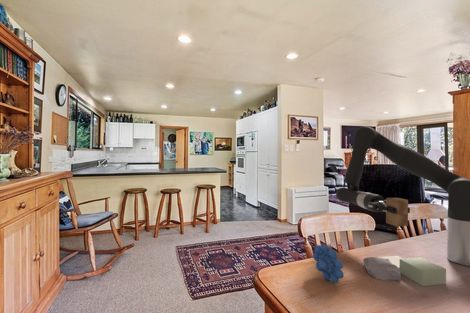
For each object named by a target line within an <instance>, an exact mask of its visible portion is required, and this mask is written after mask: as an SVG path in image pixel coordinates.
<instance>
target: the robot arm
mask: <svg viewBox="0 0 470 313" xmlns="http://www.w3.org/2000/svg"><path fill="white" fill-rule="evenodd" d="M353 136H354V137H353V146H352V152H351V156H350V159H349V164H348V167H347V169H346V173H345V175H344V176H345V177H344V181H343V182H344V183H345V184H347V185H349V188H348V187H339V188H338V189H337V190H336V192H335V195H336V198H337V199H338V200H339V201H340V202H344V203H348V204H352V205H355V206H358V207H361V208H363V209H365V210H368V211H371V212H374V213H381V212H385V213H386V212H391V213H394V214H397V208H395V207H391V206H388V205H386V199H385V198H384V197H383V196H382V195H379V194H376V193H372V192H365V191H361V190H360V181H361V179H362V174H363V172H364V165H365V159H366V155H367V152H368V150H369V148H371V149H373V150H375V151H377V152H378V153H380V154H382V155H383V156H384V157H385V158H387V159H388V160H389V161H390V162H392V163H393V164H395V165H396V166H398V167H400V168H401V169H403V170H404V171H406V172H408V173H409V174H412V175H414V176H417V177H419V178H421V179H424V180H426V181H428V182H431V183H432V184H435V185H436V186H438V188H441V189H442V190H443V191H445V192H446V193H447V195H448V197H447V228H446V229H447V230H446V231H447V238H446V240H447V242H446V244H447V246H446V250H447V251H446V258H447V259H448V260H449V261H450V262H453V263H454V264H457V265H461V266H462V265H463V266H466V267H470V179H468V178H466V177H463V176H462V175H459V174H457V173H454V172H451V171H449V170H448V169H445V168H444V167H442V166H440V165H439V164H438V163H436V162H435V161H433V160H432V159H430V158H429V157H427V156H425V155H424V154H422V153H420V152H418V151H416V150H415V149H412V148H410V147H408V146H406V145H403V144H402V143H398V142H397V141H393V140H391V139H390V138H387V137H386V136H384V135H383V134H382V133H381V132H379V131H378V130H376V129H375V128H374V127H370V126H366V125H364V126H361V127H359V128H357V129H356V131H355V132H354V135H353ZM410 213H411V209H410V207H409V206H408V214H410Z"/></svg>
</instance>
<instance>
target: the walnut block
mask: <svg viewBox="0 0 470 313" xmlns="http://www.w3.org/2000/svg"><path fill="white" fill-rule="evenodd" d="M385 200H386V205H388V206H391V207H395V208H397V214H394V213H391V212H385V223H386V224H387V225H391V226H393V227H399V228H400V227H408V226H409V213H408V207H409V200H408V199H405V198H401V197H386V199H385Z"/></svg>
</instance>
